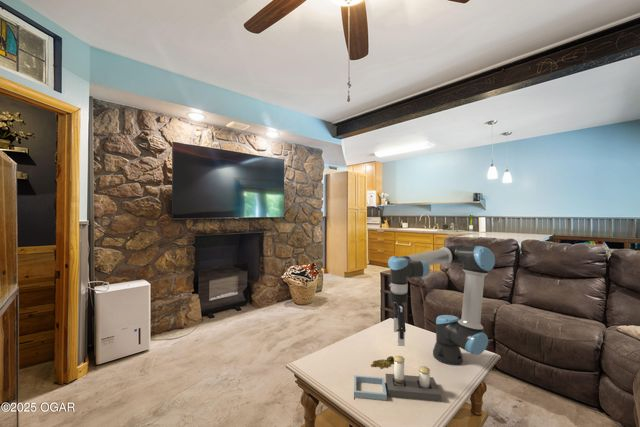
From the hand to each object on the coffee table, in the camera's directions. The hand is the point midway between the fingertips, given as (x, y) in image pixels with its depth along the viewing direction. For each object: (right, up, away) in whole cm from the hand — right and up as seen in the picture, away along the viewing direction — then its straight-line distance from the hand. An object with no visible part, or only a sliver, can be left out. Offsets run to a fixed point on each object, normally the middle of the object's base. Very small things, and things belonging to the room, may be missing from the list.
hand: (398, 338), depth 121 cm
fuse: (+11, -23, -2) cm, 26 cm away
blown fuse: (0, -23, 0) cm, 23 cm away
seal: (-3, -25, +20) cm, 32 cm away
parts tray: (-14, -24, -1) cm, 28 cm away
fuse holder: (+6, -24, -1) cm, 25 cm away
